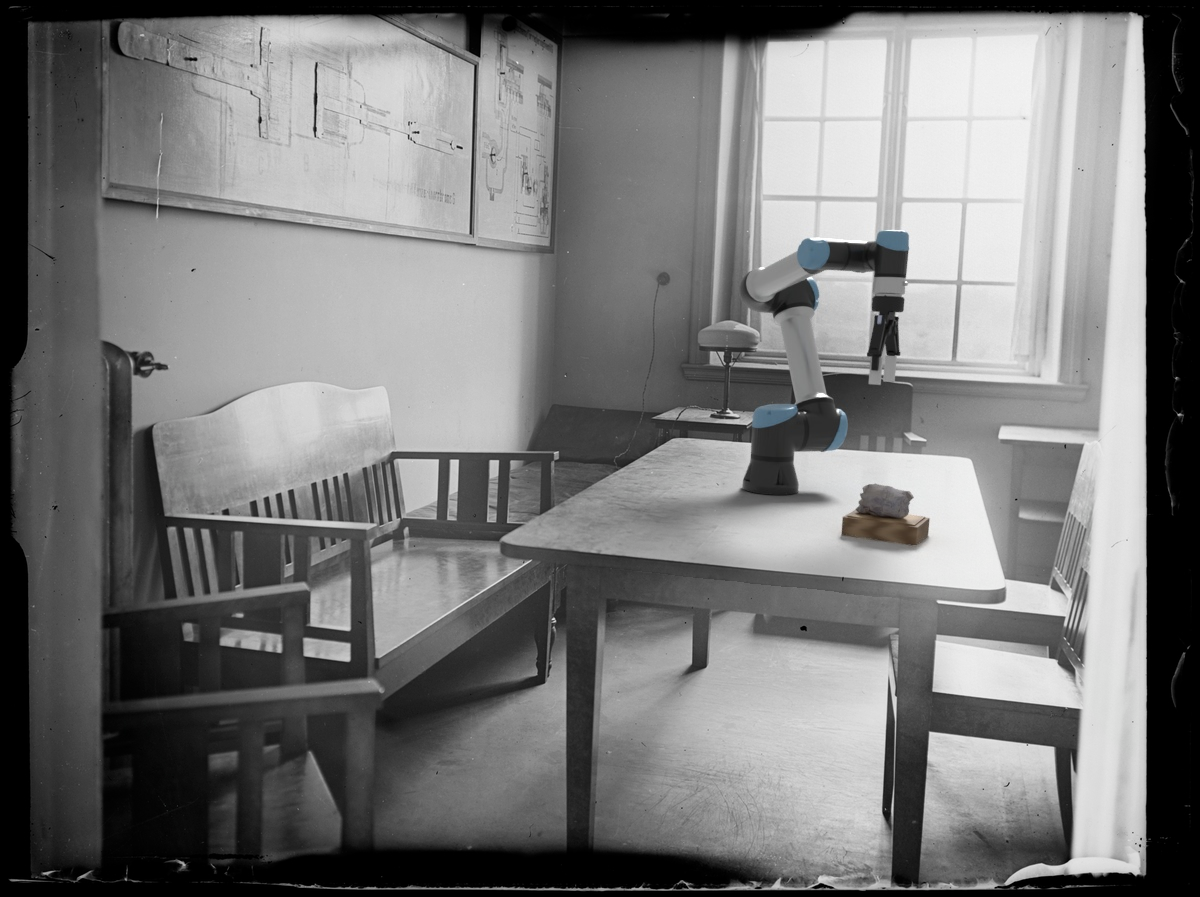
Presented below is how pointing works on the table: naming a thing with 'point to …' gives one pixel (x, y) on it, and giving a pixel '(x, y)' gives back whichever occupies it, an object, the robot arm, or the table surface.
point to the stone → (884, 501)
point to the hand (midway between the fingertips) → (881, 383)
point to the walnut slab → (886, 527)
